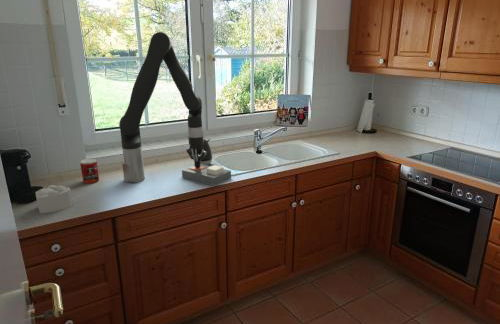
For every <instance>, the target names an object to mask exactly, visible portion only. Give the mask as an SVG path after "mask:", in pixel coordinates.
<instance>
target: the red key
mask: <svg viewBox="0 0 500 324" xmlns="http://www.w3.org/2000/svg"><path fill="white" fill-rule="evenodd" d="M193 166H194V165H193ZM190 167H191V166H190ZM188 168H189V167H188ZM205 168H206V167H203V166H200V168H195V166H194V167H191V168H189V169H190V170H194V171H200V170H203V169H205Z"/></svg>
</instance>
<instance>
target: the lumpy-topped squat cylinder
mask: <svg viewBox="0 0 500 324" xmlns="http://www.w3.org/2000/svg"><path fill="white" fill-rule="evenodd" d="M35 198H36V202H37V209H38V213H39V214H49V213H54V212H59V211H63V210H64V209H67V208H70V207H71V206H72V205H73V204H74V203H73V197H72V192H71V188H70V187H68V186H64V185H53V184H52V185H51V184H50V185H48V186H47V187H46V188H41V189H39V190H37V191H35Z"/></svg>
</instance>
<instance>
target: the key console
mask: <svg viewBox="0 0 500 324" xmlns="http://www.w3.org/2000/svg"><path fill="white" fill-rule="evenodd" d="M194 166H195V164H194V165H192V166H189V167H187V168H186V167H185V168H183V169H181V177H182V178H183V179H186V180H187V179H188V180H192V181H196V182H199V183H204V184H205V185H210V186H218V185H219V184H222V183H224V182H226V181H228V180H230V179H232V170H229V169H225V168H223V171H224V172H223V173H221V174H219V175H216V176H215V175H211V174H207V168H209V167H211V166H212V165H203V164H200V166H203V167H206V168H205V169H203V170H200V171H194V170H190V169H189V168H191V167H194Z"/></svg>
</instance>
